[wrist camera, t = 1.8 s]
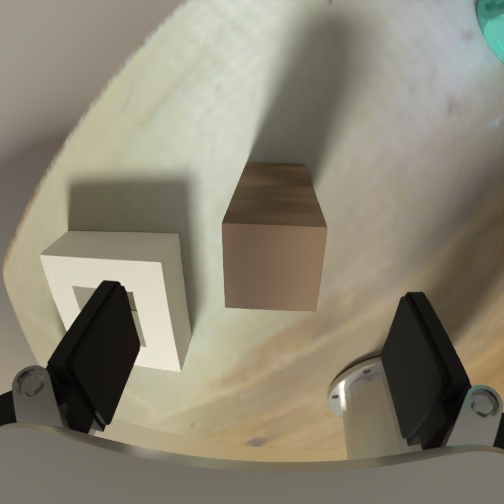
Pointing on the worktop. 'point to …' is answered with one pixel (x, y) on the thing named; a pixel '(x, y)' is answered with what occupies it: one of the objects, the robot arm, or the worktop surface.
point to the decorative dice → (492, 24)
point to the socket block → (126, 286)
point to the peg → (273, 240)
